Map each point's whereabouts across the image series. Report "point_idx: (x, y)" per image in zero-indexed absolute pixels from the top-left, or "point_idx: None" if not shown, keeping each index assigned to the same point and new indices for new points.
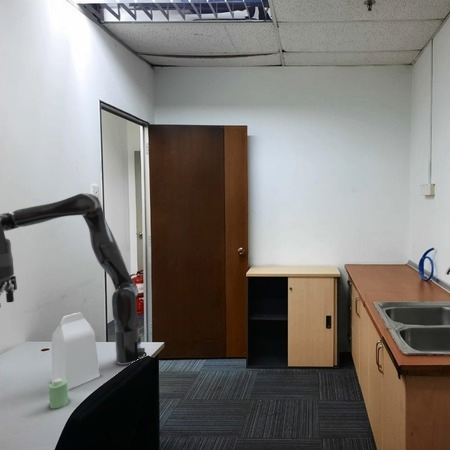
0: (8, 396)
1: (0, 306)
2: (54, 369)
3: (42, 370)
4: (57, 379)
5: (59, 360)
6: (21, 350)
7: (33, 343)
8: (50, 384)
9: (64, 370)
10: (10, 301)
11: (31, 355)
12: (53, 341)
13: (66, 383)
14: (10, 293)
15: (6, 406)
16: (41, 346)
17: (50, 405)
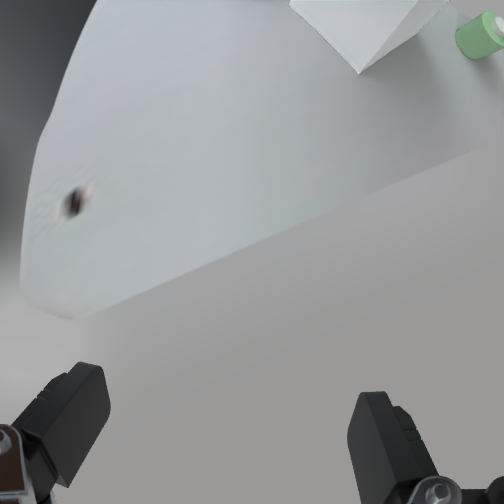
0: (410, 169)
1: (367, 397)
2: (386, 47)
3: (254, 131)
4: (500, 25)
5: (426, 14)
6: (69, 280)
7: (29, 266)
8: (499, 43)
9: (436, 12)
10: (101, 386)
11: (110, 229)
12: (422, 2)
13: (492, 13)
14: (50, 452)
15: (457, 154)
16: (50, 230)
17: (482, 57)
